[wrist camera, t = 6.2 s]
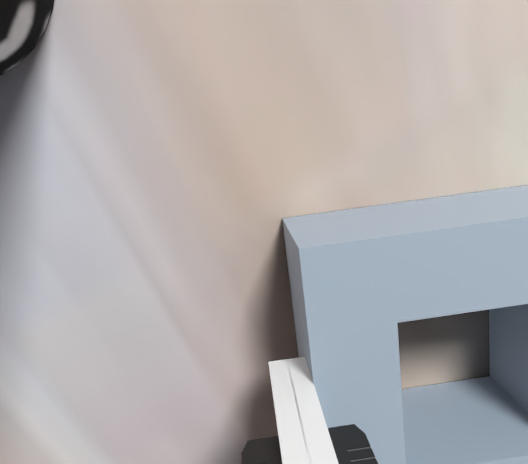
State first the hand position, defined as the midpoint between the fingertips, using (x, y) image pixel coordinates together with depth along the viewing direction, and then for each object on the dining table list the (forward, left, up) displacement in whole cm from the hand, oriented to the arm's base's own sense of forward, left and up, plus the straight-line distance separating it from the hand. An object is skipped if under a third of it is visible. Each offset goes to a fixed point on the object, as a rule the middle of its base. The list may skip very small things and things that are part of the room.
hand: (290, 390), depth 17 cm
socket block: (+7, 0, -3) cm, 7 cm away
